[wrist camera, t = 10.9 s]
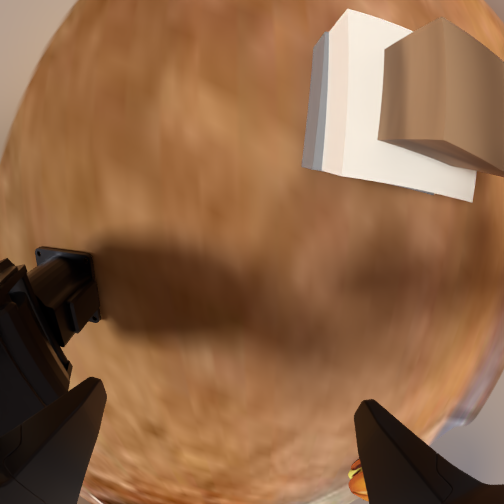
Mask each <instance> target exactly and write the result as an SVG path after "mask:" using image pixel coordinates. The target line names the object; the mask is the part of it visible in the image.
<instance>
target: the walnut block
mask: <svg viewBox="0 0 504 504" xmlns="http://www.w3.org/2000/svg"><path fill="white" fill-rule="evenodd" d="M377 140H379V141H383V142H386V143H389V144H392V145H395V146H399V147H402V148H405V149H408V150H410V151H413V152H416V153H419V154H422V155H424V156H427V157H430V158H432V159H435V160H438V161H440V162H443V163H445V164H447V165H450V166H454V167H459V168H465V169H470V170H475V171H479V172H484V173H489V174H493V175H497V176H501V177H504V62H503V61H502V60H501V59H500V58H499V57H498V56H497V55H495V54H494V53H493V52H492V51H490V50H489V49H488V48H487V47H485V46H484V45H483V44H482V43H480V42H479V41H478V40H476V39H475V38H474V37H472V36H471V35H469V34H468V33H467V32H465V31H464V30H462V29H461V28H459V27H458V26H456V25H455V24H453V23H452V22H450V21H449V20H447V19H445V18H444V17H440V18H438V19H436V20H434V21H432V22H430V23H428V24H427V25H425V26H423V27H421V28H419V29H418V30H416V31H414V32H412V33H411V34H409V35H407V36H405V37H404V38H402V39H400V40H399V41H397V42H395V43H394V44H392V45H391V46H389V47H387V48H386V49H384V72H383V89H382V101H381V112H380V121H379V130H378V138H377Z"/></svg>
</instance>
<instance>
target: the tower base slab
mask: <svg viewBox="0 0 504 504" xmlns="http://www.w3.org/2000/svg"><path fill="white" fill-rule="evenodd" d="M328 64H329V32H324V34H323V35H322V37H321V38H320V39H319V41H318V42H317V44H316V45H315V46H314V48H313V61H312V73H311V84H310V95H309V105H308V115H307V124H306V133H305V142H304V150H303V159H302V167H305V168H308V169H312V170H319V171H322V162H323V151H324V139H325V125H326V110H327V91H328ZM391 185H393V184H391ZM395 186H398V185H395ZM400 187H403V186H400ZM404 188H408V187H404ZM408 189H412V190H416V191H420V192H424V193H427V194H431V195H434V193H432V192H427V191H423V190H418V189H413V188H408Z"/></svg>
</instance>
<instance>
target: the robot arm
mask: <svg viewBox="0 0 504 504" xmlns="http://www.w3.org/2000/svg"><path fill="white" fill-rule="evenodd" d="M40 253H41V254H40ZM35 255H36V261H37V267H35V268H34V269H33V270H31V271H30V272H28V273H27V269H26V266H25V265H20V266H15V265H14V264H13V263H12V262H11V261H10V260H9V259H8V258H6V259H3V260H1V261H0V504H77V501H78V497H79V494H80V490H81V487H82V483H83V480H84V477H85V473H86V470H87V467H88V464H89V461H90V458H91V455H92V452H93V449H94V446H95V443H96V440H97V437H98V434H99V430H100V425H101V421H102V416H103V412H104V408H105V404H106V400H107V394H106V391H105V388H104V385H103V383H102V381H101V379H98V378H95V377H89V378H87V379H86V380H84V381H83V382H81V383H80V384H79V385H77V386H76V387H74V388H73V389H71V390H70V391H68V389H69V384H70V376H71V372H72V367H73V366H72V364H71V363H70V361H69V360H67V358H66V356H65V355H64V353H63V351H62V349H61V347H65V345H66V344H67V343H68V341H69V340H70V339H71V337H72V336H73V335H74V334H75V333H79V332H80V331H81V330H82V329H83V327H84V326H85V325H86V323H87V322H88V321H90V322H94V323H98V322H99V321H100V319H101V315H100V309H99V307H100V304H99V297H98V291H97V284H96V280H95V276H94V267H93V259H92V257H91V255H90V254H88V253H81V252H74V251H66V250H59V249H52V248H44V247H39V248H37V249H36V250H35ZM85 258H87V260H88V262H87V261H86V259H85ZM94 316H95V317H96V318H95V317H94ZM60 346H61V347H60ZM354 423H355V430H356V439H357V447H358V454H359V459H360V463H361V467H362V472H363V476H364V481H365V485H366V490H367V494H368V499H369V504H504V485H503V484H502V485H488V484H484V483H482V482H480V481H478V480H476V479H475V478H473V477H471V476H470V475H468V474H466V473H464V472H463V471H461V470H459V469H458V468H457V467H455V466H453V465H452V464H451V463H449V462H448V461H447V460H446V459H444V458H443V457H442V456H440V455H439V454H438V453H437V454H436V452H435V451H434V450H433V449H432V448H431V447H429V446H428V445H427V444H426V443H425V442H423V441H422V440H421V439H420V438H419V437H417V436H416V435H415V434H414V433H413V432H412V431H410V430H409V429H408V428H407V427H406V426H404V425H403V424H402V423H401V422H400V421H399V420H397V419H396V418H395V417H394V416H393V415H392V414H390V413H389V412H388V411H387V410H386V409H385V408H383V407H382V406H381V405H380V404H379V403H378V402H377V401H375V400H373V399H369V400H363V401H362V402H361V404H360V406H359V407H358V409H357V411H356V412H355V415H354Z"/></svg>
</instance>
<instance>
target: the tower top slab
mask: <svg viewBox="0 0 504 504" xmlns="http://www.w3.org/2000/svg"><path fill="white" fill-rule="evenodd" d="M412 32H413V31H411V30H408V29H406V28H404V27H401V26H399V25H396V24H394V23H391V22H388V21H385V20H383V19H380V18H377V17H374V16H371V15H368V14H364V13H361V12H358V11H354V10H351V9H347V10H346V11H345V12H344V14H343V15H342V16H341V17H340V19H339V20H338V21H337V23H336V24H335V25H334V26H333V28H332V29H331V30H330V32H329V64H328V91H327V110H326V125H325V139H324V151H323V162H322V171H325V172H328V173H332V174H336V175H339V176H344V177H351V178H357V179H364V180H370V181H376V182H382V183H387V184H393V185H398V186H403V187H408V188H413V189H418V190H423V191H427V192H432V193H436V194H440V195H444V196H449V197H453V198H457V199H460V200H464V201H468V202H473V196H474V189H475V181H476V173H477V171H475V170H470V169H465V168H459V167H454V166H450V165H447V164H445V163H443V162H440V161H438V160H435V159H432V158H430V157H427V156H424V155H422V154H419V153H416V152H413V151H410V150H408V149H405V148H402V147H399V146H395V145H392V144H389V143H386V142H383V141H379V140H377V138H378V130H379V121H380V112H381V101H382V89H383V72H384V49H386V48H387V47H389V46H391V45H392V44H394V43H395V42H397V41H399V40H400V39H402V38H404V37H405V36H407V35H409V34H411V33H412Z"/></svg>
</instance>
